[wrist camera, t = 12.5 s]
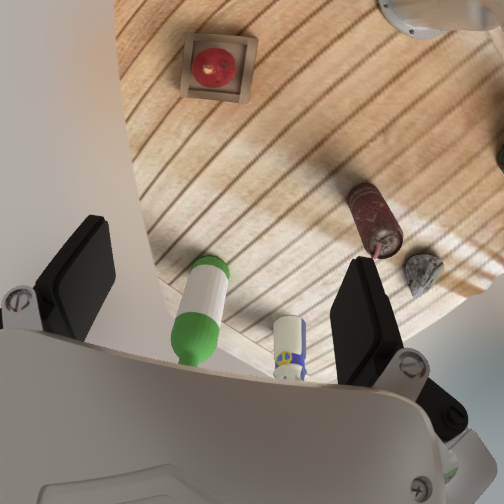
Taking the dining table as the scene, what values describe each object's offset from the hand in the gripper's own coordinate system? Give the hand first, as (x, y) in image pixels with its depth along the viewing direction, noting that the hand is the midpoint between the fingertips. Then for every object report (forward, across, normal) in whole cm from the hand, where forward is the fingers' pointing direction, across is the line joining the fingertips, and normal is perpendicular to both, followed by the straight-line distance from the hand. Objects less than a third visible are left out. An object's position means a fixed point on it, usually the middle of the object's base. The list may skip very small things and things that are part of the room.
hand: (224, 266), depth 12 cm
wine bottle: (+40, +5, +35) cm, 54 cm away
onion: (+38, +7, -4) cm, 39 cm away
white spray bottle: (+40, -14, +49) cm, 65 cm away
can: (+40, -20, +14) cm, 47 cm away
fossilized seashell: (+41, -39, +27) cm, 62 cm away
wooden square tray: (+40, +7, -4) cm, 41 cm away
